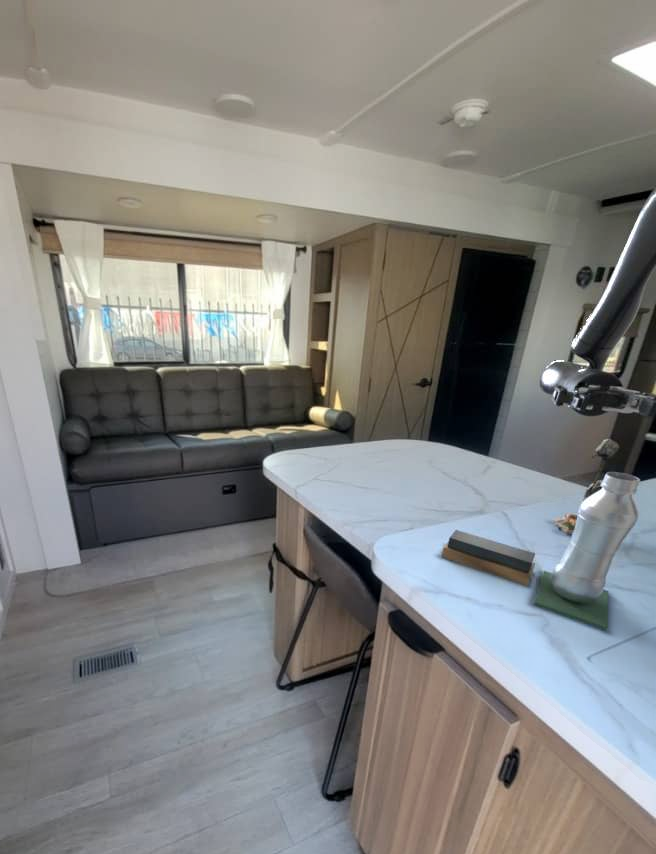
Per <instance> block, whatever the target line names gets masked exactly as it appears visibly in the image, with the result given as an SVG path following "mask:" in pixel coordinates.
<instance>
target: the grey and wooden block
mask: <svg viewBox="0 0 656 854" xmlns="http://www.w3.org/2000/svg"><path fill="white" fill-rule="evenodd" d="M535 556H536V552H532V551H529V550H525V549H521V548H519V547H516V546H512V545H508V544H505V543H502V542H499V541H495V540H493V539H489V538H485V537H482V536H478V535H475V534H472V533H468V532H465V531H462V530H458V529H455V530H454V532H452V534H451V535H450V536H449V538H448V540H447V542H446V544H445V545H444V546H443V548H442V553H441V555H440V557H441V558H444V559H447V560H450V561H453V562H455V563H459V564H462V565H464V566H468V567H470V568H474V569H476V570H479V571H482V572H485V573H488V574H492V575H494V576H497V577H499V578H503V579H506V580H509V581H512V582H515V583H518V584H520V585H524V586H527V587H528V586H529V584H530V582H531V581H530V580H531V578H532V575H533V572H534V569H535V566H536V562H534V559H535Z"/></svg>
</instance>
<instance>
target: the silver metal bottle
mask: <svg viewBox="0 0 656 854" xmlns="http://www.w3.org/2000/svg"><path fill="white" fill-rule="evenodd" d="M602 480H603V481H602V482H601V487H602V489H601V490H599V491H597V492H596V493H594V494H592V495H591V496H589V497H588V498H586V499H585V500H584V501H583V500H582V503H581V504H579V508H578V512H577V521H576V526H575V529H574V532H573V534H571V539H570V541H569V543H568V546H567V547H566V550H565V552H564V554H563V555H562V557H561V559H560V561H559V562H558V563H557V564H556V566H555V567H554V569H553V570H552V572H551V573H552V574H551V580H550V583H551V586H552V589H553V590H554V591H555V592H556V593H557V594H559V595H560V596H562V597H564V598H566V599H568V600H571V601H575V602H579V603H589V602H592V601H595V600H596V599H598V597H599V596H600V595H601V594H602V592H603V591H604V590H605V586H606V584H607V583H606V582H607V576H608V573H609V570H610V568H611V566H612V565H611V564H612V562H613V558H614V557H615V555H616V553H617V552H618V550H619V548H620V546H621V545H622V543H623V542H624V540H625V539H626V537H627V536H628V535H629V534H630V531H631V530H632V529H633V528H634V526H635V525H636V523H637V522H638V520H639V510H638V506H637V504H636V502H635V500H634V498H633V495H636V494H637V491H638V488H639V485H640V482H641V479H640V478H639V477H637V476H635V475H632V474H629V473H625V472H618V471H607V472H606V473H605V475H604V477H603V479H602Z"/></svg>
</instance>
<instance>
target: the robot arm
mask: <svg viewBox="0 0 656 854" xmlns="http://www.w3.org/2000/svg"><path fill="white" fill-rule="evenodd" d="M655 268H656V187H655V188H654V189H653V190H652V192H651V193H650V194H649V196H648V197H647V199H646V200H645V203H644V204H643V205H642V208H641V209H640V212H639V213H638V215H637V218H636V220H635V222H634V224H633V226H632V229H631V231H630V233H629V236H628V238H627V240H626V243H625V245H624V247H623V249H622V251H621V253H620V256H619V258H618V260H617V262H616V264H615V266H614V268H613V271H612V273H611V275H610V277H609V280H608V282H607V284H606V286H605V288H604V290H603V291H602V293H601V295H600V297H599V299H598V301H597V302H596V304H595V306H594V307H593V309H592V311H591V313H590V314H589V316H588V317H587V319H586V320H585V322H584V324H583V325H582V327H581V328H580V330H579V332H578V333H577V334H576V336H575V338H574V339H573V341H572V344H571V346H570V350H571V352H572V353H573V354H574V355H575V356H577V357H578V358H581V359H582V360H584V361H586V362H588V364H587V365H584V364H581V363H576V362H571V361H566V360H561V359H560V360H556V361H553V362H551V363H549V365H547V366H546V367H545V368H544V370H543V371H542V373H541V375H540V378H539V388H540V390H541V391H542V392H543V393H545V394H547V395H550V396H551V399H550V401H551V402H552V403H553V405H555V406H557V407H562V406H564V404H566V405H567V407H569V408H570V409H572V410H573V411H574V412H575V413H577V414H578V415H581V416H585V417H598V416H602V415H605V414H607V413H609V412H616V413H617V412H618V413H622V414H633V413H637V414H640V415H641V416H644V417H646V418H653V417H654V416H655V415H656V394H655V393H653V392H651V391H645V392H644V391H643V392H642V394H641V391H640V390H639V391H638V390H632V389H627V388H624V385H623V382H622V381H621V379H620V378H619V377H618V376H616V375H615V374H613V373H610V372H607V371H604V369H605V367H606V363H607V362H608V359H609V357H610V355H611V354H612V352H613V350H615V348H616V346H617V345H618V344H619V342H620V341H621V339H622V338H623V337H624V335H625V334H626V332H627V331H628V329H629V328H630V327H631V325H632V324H633V322H634V320H635V318H636V317H637V314H638V312H639V310H640V307H641V302H642V299H643V296H644V292H645V289H646V286H647V283H648V281H649V280H650V277H651V275H652V273H653V271H654V270H655Z"/></svg>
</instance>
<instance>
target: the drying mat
mask: <svg viewBox="0 0 656 854" xmlns="http://www.w3.org/2000/svg"><path fill="white" fill-rule="evenodd" d="M551 574H552V572H550V571H546V570H543V571H542V574H541V577H540V581H539V585H538V587H537V588H538V589H537V591H536V595H535V598H534V602H533V605H534V606H536V607H538V608H542V609H545V610H547V611H550V612H552V613H555V614H558V615H561V616H564V617H567V618H570V619H572V620H574V621H578V622H580V623H584V624H586V625H588V626H591V627H595V628H598V629H600V630H602V631H607V629H608V615H609V613H608V612H609V590H607V589H604V591H603V592H602V594H601V595H600V596H599V597H598V599H596V600H595V601H592V602H589V603H579V602H575V601H571V600H568V599H566V598H564V597H562V596H560V595H559V594H557V593H556V592H555V591H554V590H553V589H552V586H551V583H550V580H551Z"/></svg>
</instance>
